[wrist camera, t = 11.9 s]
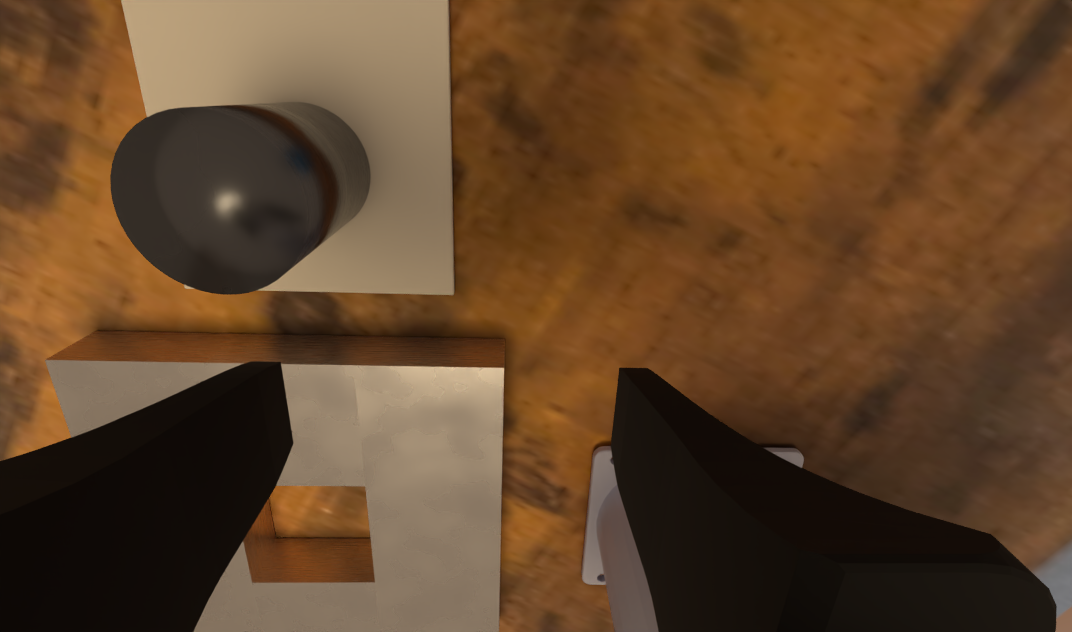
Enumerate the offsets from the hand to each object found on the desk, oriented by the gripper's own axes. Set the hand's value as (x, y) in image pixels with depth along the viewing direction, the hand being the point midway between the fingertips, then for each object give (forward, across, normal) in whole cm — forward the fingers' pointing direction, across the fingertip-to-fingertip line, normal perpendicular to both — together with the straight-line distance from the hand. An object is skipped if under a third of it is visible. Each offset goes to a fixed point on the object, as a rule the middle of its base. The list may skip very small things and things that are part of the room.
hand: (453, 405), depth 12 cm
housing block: (+10, +7, +11) cm, 16 cm away
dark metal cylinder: (+10, +6, -4) cm, 12 cm away
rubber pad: (+10, +6, -4) cm, 12 cm away
